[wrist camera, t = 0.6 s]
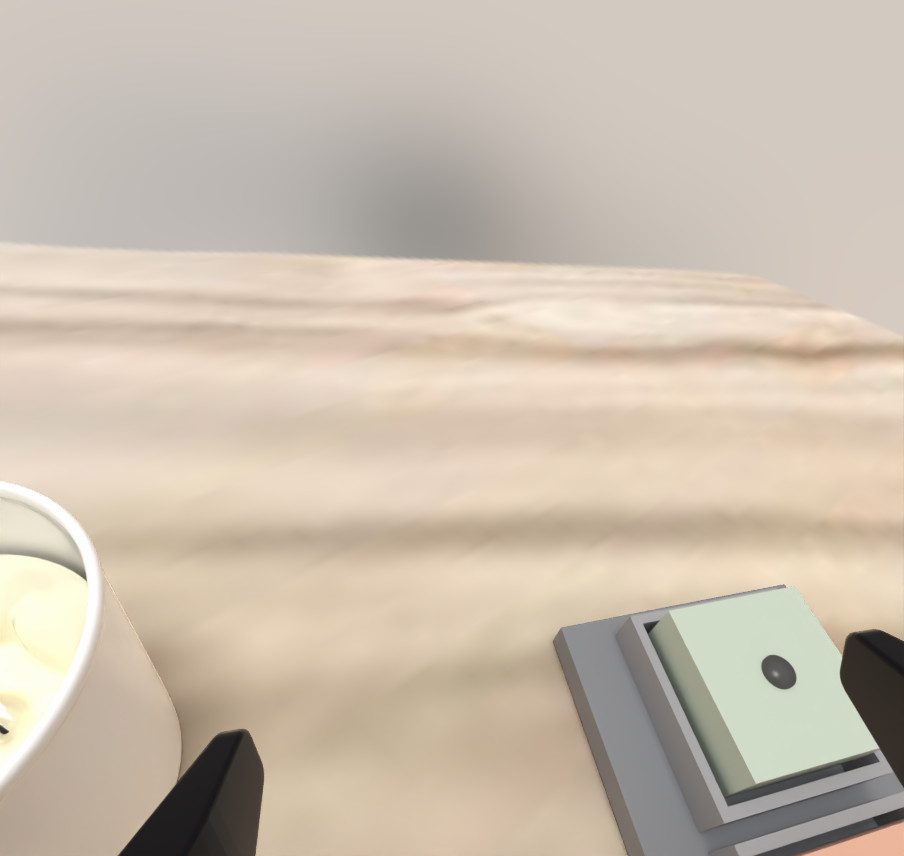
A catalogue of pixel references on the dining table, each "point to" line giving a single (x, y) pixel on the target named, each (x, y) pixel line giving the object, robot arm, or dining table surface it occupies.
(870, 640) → the robot arm
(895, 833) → the tile three dots
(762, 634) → the tile one dot
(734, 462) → the dining table surface
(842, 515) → the dining table surface
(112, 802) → the candle holder
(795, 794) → the button board
